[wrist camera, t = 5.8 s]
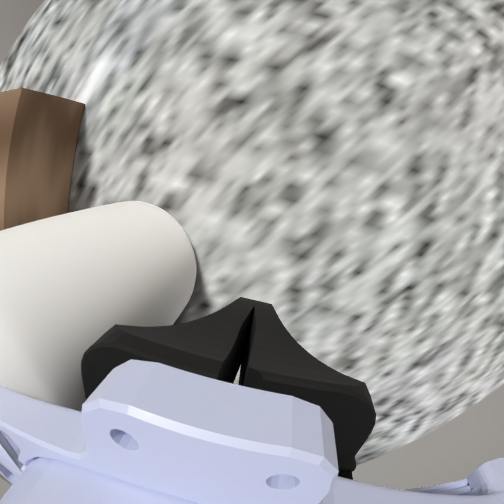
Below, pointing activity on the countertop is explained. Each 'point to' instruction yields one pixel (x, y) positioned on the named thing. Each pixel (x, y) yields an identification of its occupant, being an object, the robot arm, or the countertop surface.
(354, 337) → the countertop surface
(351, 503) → the robot arm
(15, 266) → the can
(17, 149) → the rail
